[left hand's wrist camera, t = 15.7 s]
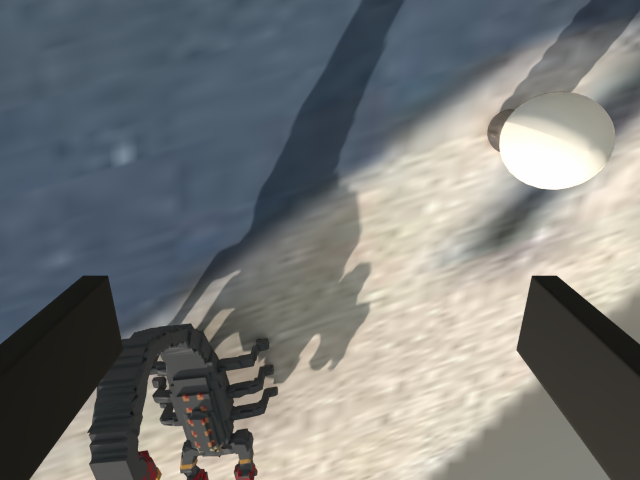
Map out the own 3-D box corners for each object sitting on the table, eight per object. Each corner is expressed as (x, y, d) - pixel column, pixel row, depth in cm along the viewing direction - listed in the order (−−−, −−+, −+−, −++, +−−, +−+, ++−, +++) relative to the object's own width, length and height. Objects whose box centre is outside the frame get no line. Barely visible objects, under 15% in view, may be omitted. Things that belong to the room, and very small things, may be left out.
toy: (252, 262, 40) (202, 395, 23) (292, 460, 50) (277, 657, 33) (120, 277, 41) (-23, 417, 24) (184, 470, 51) (116, 668, 34)
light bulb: (459, 151, 37) (513, 180, 26) (499, 76, 34) (575, 74, 24) (524, 180, 37) (600, 218, 27) (567, 108, 35) (668, 120, 25)
